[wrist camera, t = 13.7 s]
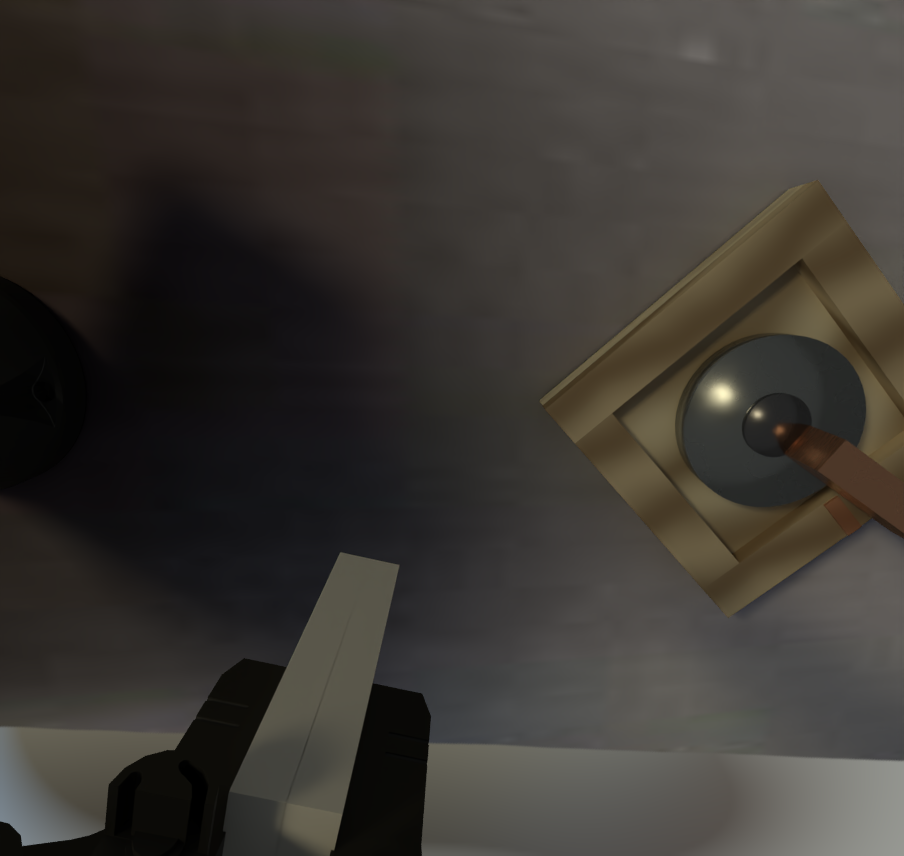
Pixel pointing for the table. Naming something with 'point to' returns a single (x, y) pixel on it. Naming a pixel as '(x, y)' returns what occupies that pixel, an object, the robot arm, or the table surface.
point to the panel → (705, 332)
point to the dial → (783, 427)
